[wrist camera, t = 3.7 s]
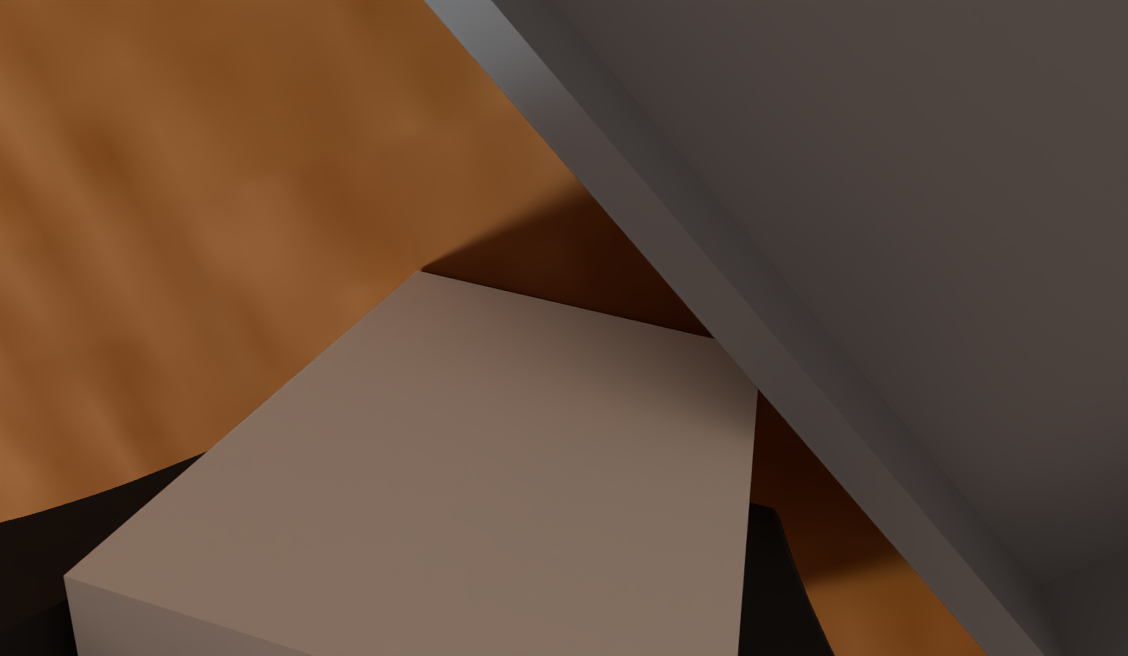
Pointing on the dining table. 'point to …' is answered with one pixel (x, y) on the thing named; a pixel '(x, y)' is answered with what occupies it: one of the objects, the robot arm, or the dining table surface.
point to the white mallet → (452, 498)
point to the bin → (885, 254)
